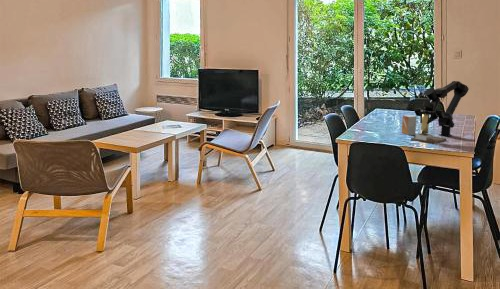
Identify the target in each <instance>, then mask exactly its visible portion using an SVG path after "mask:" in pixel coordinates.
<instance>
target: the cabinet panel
mask: <svg viewBox="0 0 500 289" xmlns="http://www.w3.org/2000/svg"><path fill="white" fill-rule="evenodd" d="M410 141H415V142H421V143H427V144H438V143H441V142H446V141H447V138H444V137H441V136H440V137H439V136H433V138H432V139H431V140H427V141H425V140H419V139H416V136H415V137H410Z"/></svg>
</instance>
